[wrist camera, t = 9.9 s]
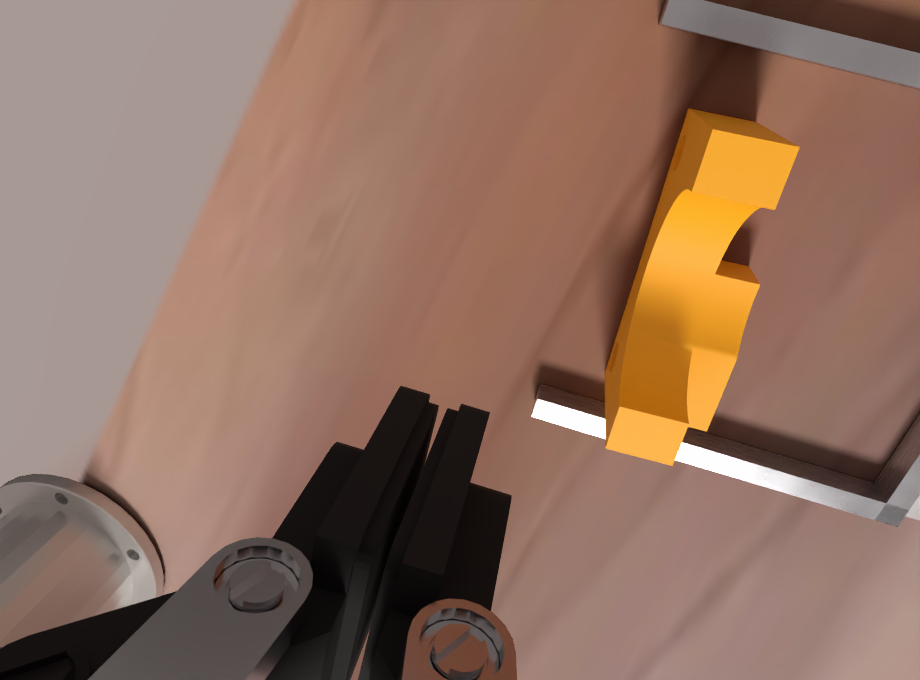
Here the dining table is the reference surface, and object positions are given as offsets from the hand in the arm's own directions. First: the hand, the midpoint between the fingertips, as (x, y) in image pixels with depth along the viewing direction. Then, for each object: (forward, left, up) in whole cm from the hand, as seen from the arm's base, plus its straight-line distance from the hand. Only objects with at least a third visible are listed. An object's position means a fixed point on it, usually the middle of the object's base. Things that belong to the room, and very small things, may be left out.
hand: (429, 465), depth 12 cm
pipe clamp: (0, -7, -19) cm, 20 cm away
